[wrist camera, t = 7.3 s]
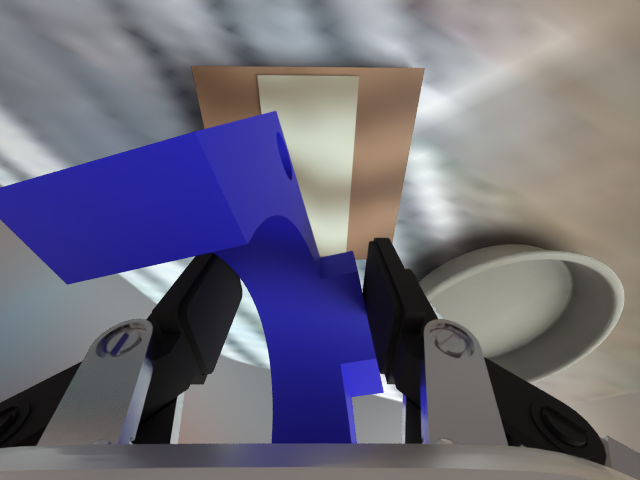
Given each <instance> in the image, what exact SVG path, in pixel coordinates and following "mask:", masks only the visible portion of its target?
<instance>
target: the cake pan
mask: <svg viewBox="0 0 640 480" xmlns="http://www.w3.org/2000/svg"><path fill="white" fill-rule="evenodd" d="M419 285H420V286H421V288H422V290H423V292H424V294H425V296H426V297H427V299H428V301H429V302H430V303H431V304H432V305H433V307H434V308H436V311H437V313H439V314H441V315H442V316H443V318H444V319H445V320H450V321H453V322H456V323H458V324H460V325H462V326H463V327H465V328H466V329H468V330H469V331H470V332H471V333H472V334H473V335H474V336H475V337H476V338H477V340H478V342H479V344H480V346H481V349H482V353H483V356H484V357H486V358H487V359H489V360H491V361H492V362H494V363H496V364H498V365H499V366H501V367H503V368H504V369H506V370H508V371H510V372H511V373H513V374H515V375H516V376H518V377H520V378H522V379H523V380H525V381H527V382H528V383H530V384H533V383H535V382H538V381H541V380H543V379H546V378H548V377H550V376H553V375H555V374H557V373H559V372H561V371H563V370H564V369H566V368H568V367H570V366H571V365H573V364H575V363H576V362H578V361H579V360H581V359H582V358H584V357H585V356H586V355H588V354H589V353H590V352H592V351H593V350H594V349H595V348H596V347H597V346H598V345H599V344H601V342H602V341H603V340H604V339H605V338H606V337H607V336H608V335H609V333H610V332H611V331H612V329H613V328H614V326H615V325H616V323H617V321H618V319H619V317H620V315H621V312H622V309H623V305H624V290H623V286H622V284H621V282H620V280H619V278H618V277H617V275H616V274H615V273H614V272H613V271H612V270H611V269H610V268H609V267H608V266H606V265H605V264H603V263H601V262H600V261H598V260H596V259H593V258H591V257H589V256H585V255H581V254H576V253H572V252H566V251H553V250H545V249H542V248H539V247H535V246H530V245H523V244H505V245H496V246H489V247H485V248H481V249H477V250H474V251H471V252H468V253H465V254H462V255H460V256H458V257H455V258H453V259H451V260H449V261H448V262H446V263H444V264H442V265H441V266H439V267H437V268H436V269H434V270H433V271H432V272H430V273H429V274H428V275H426V276H425V277H424V278H423V279H422V280H421V281H420V282H419Z"/></svg>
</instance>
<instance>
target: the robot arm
mask: <svg viewBox="0 0 640 480" xmlns="http://www.w3.org/2000/svg"><path fill="white" fill-rule="evenodd" d="M363 298H364V303H365V307H366V314H367V319H368V323H369V328H370V332H371V337H372V341H373V346H374V350H375V355H376V359H377V364H378V368H379V372H380V374H385V377H386V381H387V384H395V385H396V388H397V389H398V390H399V391H400V392H402V393H403V414H402V443H401V444H331V443H316V444H178V436H179V430H180V422H181V415H182V407H183V400H184V391H186V390H187V389H188V388H189V386H190V384H204V382H205V380H206V377H207V375H208V374H211V373H212V372H213V370H214V368H215V366H216V363H217V360H218V358H219V355H220V353H221V350H222V348H223V345H224V343H225V340H226V337H227V335H228V332H229V330H230V327H231V325H232V322H233V319H234V317H235V314H236V312H237V309H238V307H239V304H240V301H241V299H242V286H241V282H240V277H239V276H238V274H237V273H236V272H235V271H234V270H233V269H232V268H231V267H230V266H229V265H228V264H227V263H226V262H225V261H224V260H223V259H221V258H220V257H218V256H217V255H215V254H214V253H212V252H211V253H206V254H202V255H197V256H195V258H194V259H193V260H192V261H191V263H190V264H189V265H188V266H187V268H186V269H185V270H184V271H183V273H182V274H181V275H180V277H179V278H178V279H177V280H176V282H175V283H174V284H173V285H172V287H171V288H170V289H169V290H168V292H167V293H166V294H165V295H164V297H163V298H162V299H161V301H160V302H159V303H158V304H157V306H156V307H155V308H154V309H153V311H152V313H151V314H150V316H149V317H148V318H147V319H132V320H128V321H125V322H122V323H119V324H117V325H115V326H113V327H111V328H110V329H108V330H107V331H105V332H104V333H102V334H101V335H100V336H99V337H98V338H97V339H96V340H95V341H94V342H93V344H92V345H91V346H90V348H89V350H88V352H87V354H86V356H85V357H84V359H83V361H82V362H80V363H78V364H76V365H74V366H72V367H70V368H68V369H66V370H64V371H62V372H60V373H58V374H56V375H54V376H52V377H50V378H48V379H46V380H44V381H42V382H40V383H39V384H36V385H35V386H33V387H31V388H29V389H27V390H25V391H23V392H21V393H19V394H17V395H15V396H13V397H11V398H9V399H7V400H5V401H3V402H1V403H0V480H640V453H638V452H636V451H634V450H633V449H631V448H629V447H627V446H625V445H623V444H622V443H620V442H618V441H616V440H614V439H613V438H611V437H609V436H606V437H604V438H601V437H599V436H598V434H597V433H596V432H595V430H594V429H593V428H592V427H591V426H590V424H589V423H588V422H587V421H586V420H585V419H584V418H583V417H582V416H580V415H579V414H578V413H577V412H576V411H575V410H573V409H572V408H570V407H569V406H567V405H566V404H564V403H563V402H561V401H559V400H558V399H556V398H554V397H553V396H551V395H549V394H547V393H546V392H544V391H542V390H540V389H539V388H537V387H535V386H534V385H532V384H530V383H528V382H527V381H525V380H523V379H522V378H520V377H518V376H516V375H515V374H513V373H511V372H510V371H508V370H506V369H504V368H503V367H501V366H499V365H498V364H496V363H494V362H492V361H491V360H489V359H487V358H486V357H484V356H483V353H482V349H481V346H480V344H479V342H478V340H477V338H476V337H475V336H474V335H473V334H472V333H471V332H470V331H469V330H468V329H466V328H465V327H463V326H462V325H460V324H458V323H456V322H453V321H450V320H445V319H438V318H437V316H436V314H435V312H434V310H433V308H432V307H431V305H430V303H429V301H428V299H427V297H426V296H425V294H424V292H423V290H422V288H421V286H420V285H419V283H418V281H417V279H416V277H415V275H414V274H413V272H412V271H411V270H410V269H405V268H404V266H403V264H402V262H401V260H400V258H399V256H398V254H397V252H396V250H395V249H394V247H393V245H392V243H391V241H390V239H389V238H374V240H373V241H369V245H368V253H367V261H366V269H365V277H364V284H363Z"/></svg>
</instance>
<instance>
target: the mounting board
mask: <svg viewBox="0 0 640 480" xmlns="http://www.w3.org/2000/svg"><path fill="white" fill-rule="evenodd" d="M191 69H192V73H193V78H194V83H195V87H196V92H197V96H198V101H199V105H200V110H201V115H202V119H203V124H204V128H205V129H207V128H211V127H215V126H219V125H222V124H226V123H230V122H234V121H238V120H242V119H246V118H250V117H253V116H257V115H261V114H265V113H269V112H273V111H277V115H278V118H279V121H280V125H281V128H282V131H283V135H284V138H285V141H286V145H287V148H288V151H289V155H290V158H291V162H292V165H293V168H294V172H295V175H296V178H297V182H298V185H299V188H300V192H301V195H302V198H303V202H304V205H305V208H306V212H307V215H308V218H309V222H310V225H311V228H312V232H313V235H314V238H315V242H316V245H317V248H318V252H319V255H320V257H325V256H330V255H334V254H339V253H344V252H349V251H353V253H354V257H355V259H367V253H368V245H369V241H373V240H374V238H389V239H390V241H391V243H392V241H393V236H394V231H395V225H396V220H397V214H398V209H399V204H400V198H401V193H402V188H403V182H404V177H405V171H406V166H407V161H408V155H409V150H410V145H411V139H412V134H413V129H414V123H415V118H416V112H417V107H418V102H419V96H420V91H421V86H422V80H423V75H424V69H425V68H366V67H243V66H191Z"/></svg>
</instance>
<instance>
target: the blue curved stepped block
mask: <svg viewBox="0 0 640 480" xmlns="http://www.w3.org/2000/svg"><path fill="white" fill-rule="evenodd" d="M0 219H1V220H2V221H3V222H4V223H5V224H6V225H7V226H8V227H9V228H10V229H11V230H12V231H13V232H14V233H15V234H16V235H17V236H18V237H19V238H20V239H21V240H22V241H23V242H24V243H25V244H26V245H27V246H28V247H29V248H30V249H31V250H32V251H33V252H34V253H35V254H36V255H37V256H38V257H40V258H41V260H42V261H43V262H45V263H46V264H47V265H48V266H49V267H50V268H51V269H52V270H53V271H54V272H55V273H56V274H57V275H58V276H59V277H60V278H61V279H62V280H63V281H64V282H65V283H66V284H72V283H76V282H80V281H85V280H90V279H94V278H99V277H103V276H107V275H112V274H116V273H121V272H125V271H130V270H134V269H139V268H143V267H148V266H152V265H157V264H161V263H166V262H170V261H175V260H179V259H184V258H188V257H193V256H197V255H202V254H206V253H211V252H212V253H214V254H215V255H217V256H218V257H220V258H221V259H223V260H224V261H225V262H226V263H227V264H228V265H229V266H230V267H231V268H232V269H233V270H234V271H235V272H236V273H237V274H238V276H239V277H240V278H241V280H242V281H243V283H244V284H245V286H246V287H247V289H248V291H249V293H250V295H251V297H252V299H253V301H254V303H255V305H256V308H257V311H258V313H259V316H260V319H261V322H262V326H263V329H264V333H265V337H266V342H267V347H268V353H269V359H270V368H271V378H272V395H273V429H272V444H316V443H331V444H357V441H356V433H355V424H354V415H353V406H352V397H355V396H362V395H370V394H377V393H384V392H383V387H382V382H381V377H380V372H379V368H378V364H377V359H376V355H375V350H374V346H373V341H372V337H371V332H370V328H369V323H368V319H367V314H366V307H365V303H364V298H363V293H362V289H361V284H360V279H359V275H358V270H357V266H356V261H355V257H354V253H353V251H349V252H344V253H339V254H334V255H330V256H325V257H320V255H319V252H318V248H317V245H316V242H315V238H314V235H313V232H312V228H311V225H310V222H309V218H308V215H307V212H306V208H305V205H304V202H303V198H302V195H301V192H300V188H299V185H298V182H297V178H296V175H295V172H294V168H293V165H292V162H291V158H290V155H289V151H288V148H287V145H286V141H285V138H284V135H283V131H282V128H281V125H280V121H279V118H278V115H277V111H273V112H269V113H265V114H261V115H257V116H253V117H250V118H246V119H242V120H238V121H234V122H230V123H226V124H222V125H219V126H215V127H211V128H207V129H203V130H199V131H195V132H192V133H188V134H185V135H181V136H178V137H174V138H171V139H167V140H164V141H161V142H157V143H154V144H150V145H147V146H143V147H140V148H136V149H133V150H129V151H126V152H122V153H119V154H115V155H112V156H109V157H105V158H102V159H98V160H95V161H91V162H88V163H84V164H81V165H77V166H74V167H70V168H67V169H63V170H60V171H57V172H53V173H50V174H46V175H43V176H39V177H36V178H32V179H29V180H25V181H22V182H18V183H15V184H11V185H8V186H5V187H1V188H0Z"/></svg>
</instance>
